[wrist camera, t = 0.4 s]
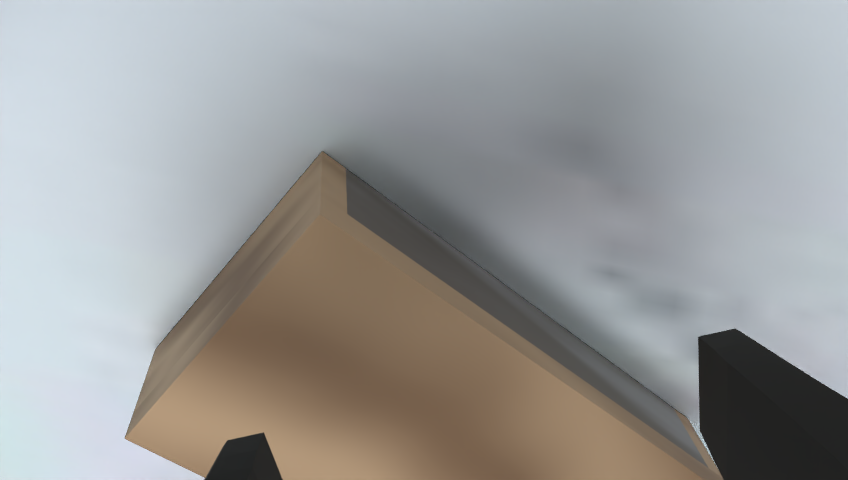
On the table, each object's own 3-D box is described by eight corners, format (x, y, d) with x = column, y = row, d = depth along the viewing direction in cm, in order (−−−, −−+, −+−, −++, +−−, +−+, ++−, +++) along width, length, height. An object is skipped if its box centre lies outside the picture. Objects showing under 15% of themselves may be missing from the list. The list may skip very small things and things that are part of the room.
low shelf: (525, 551, 29) (549, 645, 25) (155, 349, 23) (124, 438, 19) (687, 418, 26) (738, 503, 23) (322, 151, 20) (319, 214, 17)
